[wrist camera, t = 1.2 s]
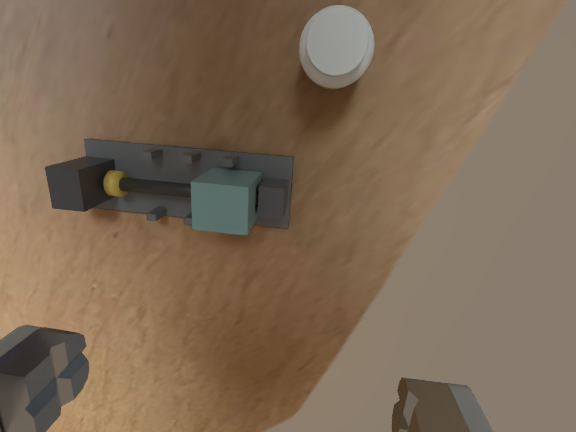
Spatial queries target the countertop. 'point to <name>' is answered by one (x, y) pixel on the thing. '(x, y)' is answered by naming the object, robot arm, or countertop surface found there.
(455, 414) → the robot arm
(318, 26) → the supplement bottle
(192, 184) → the sleeve
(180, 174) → the grey sliding rail fixture
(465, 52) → the countertop surface
